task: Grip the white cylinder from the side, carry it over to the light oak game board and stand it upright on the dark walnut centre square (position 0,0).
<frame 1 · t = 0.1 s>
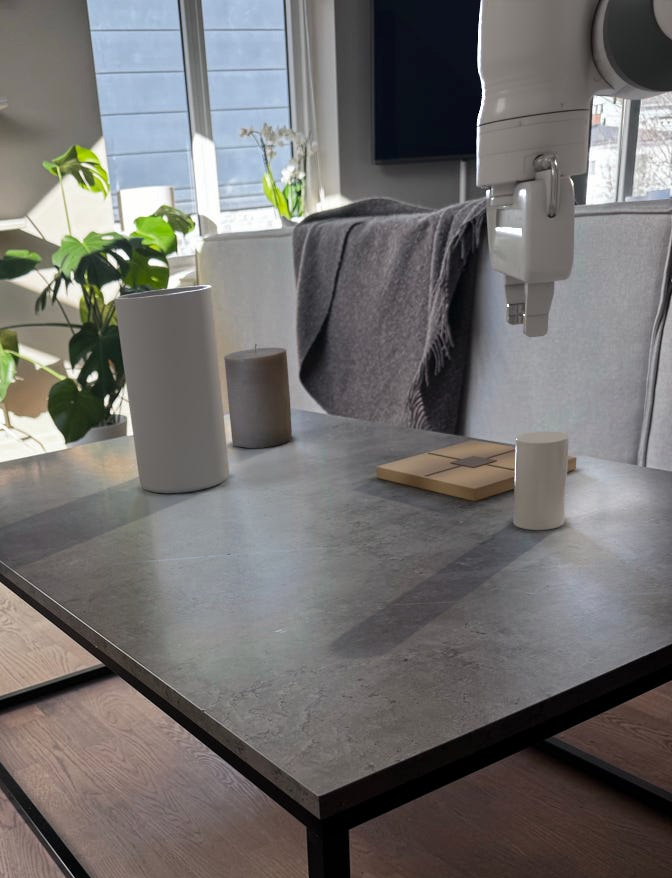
hand: (525, 329, 83), 20 cm above the table, tool pointing down, fingers open, 8 cm apart
game board: (473, 473, 115), on the table
white cylinder: (538, 522, 96), on the table
cylinder vase: (185, 483, 127), on the table
pillar candle: (262, 442, 146), on the table
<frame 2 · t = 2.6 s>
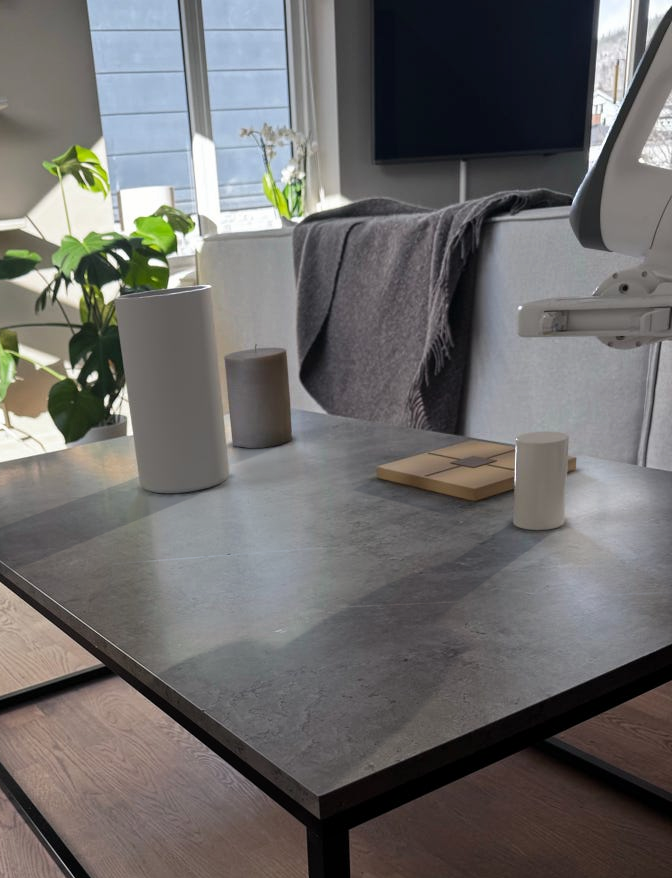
hand: (589, 326, 96), 18 cm above the table, tool horizontal, fingers open, 8 cm apart
nothing on the table moved.
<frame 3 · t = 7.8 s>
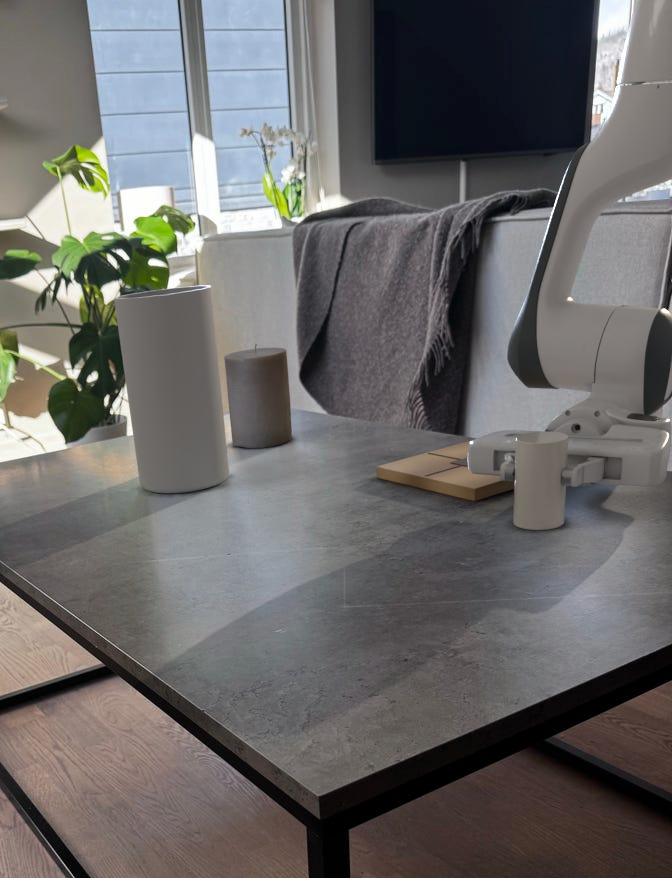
hand: (537, 476, 93), 5 cm above the table, tool horizontal, fingers closed on white cylinder, 5 cm apart
white cylinder: (538, 522, 96), on the table, touching gripper
everything else where it was.
when the fingers open (7 cm above the table, at t = 16.9 s): white cylinder stays where it is, resting on game board.
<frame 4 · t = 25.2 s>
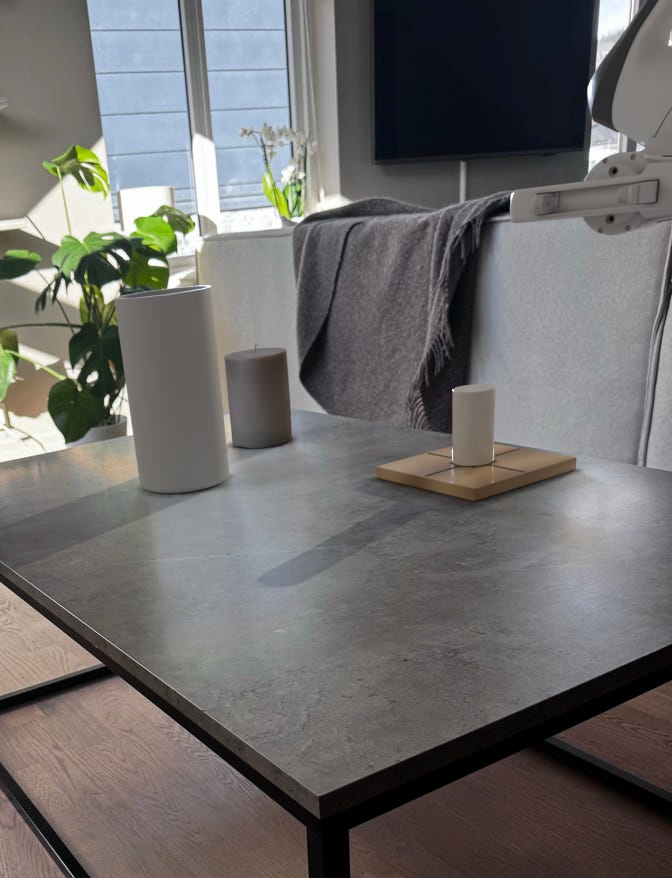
hand: (579, 200, 99), 30 cm above the table, tool horizontal, fingers open, 8 cm apart
white cylinder: (472, 461, 115), point 2 cm above the table, touching game board
everything else where it was.
at the end: white cylinder 0.1 cm off-centre on the game board, point 1.6 cm above the game board's base; white cylinder tilted 0°; the gripper is holding nothing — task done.
